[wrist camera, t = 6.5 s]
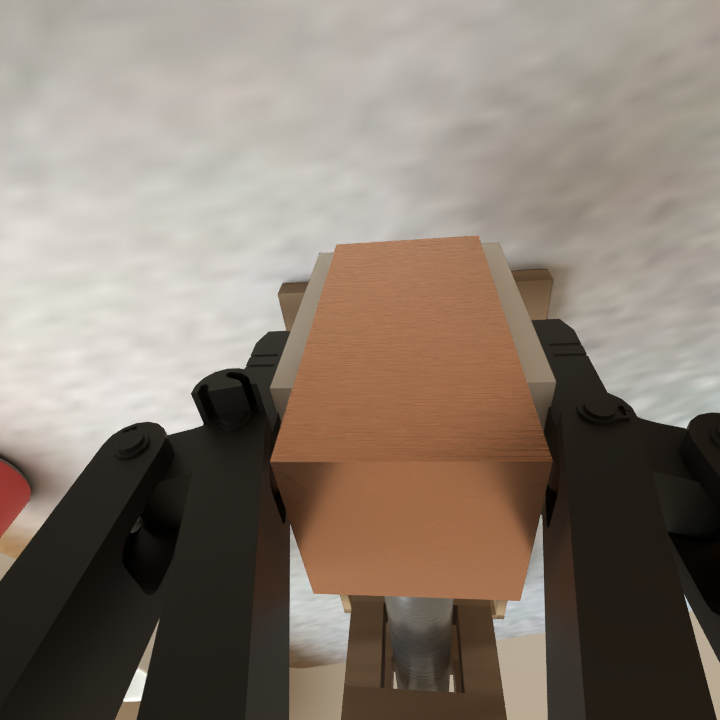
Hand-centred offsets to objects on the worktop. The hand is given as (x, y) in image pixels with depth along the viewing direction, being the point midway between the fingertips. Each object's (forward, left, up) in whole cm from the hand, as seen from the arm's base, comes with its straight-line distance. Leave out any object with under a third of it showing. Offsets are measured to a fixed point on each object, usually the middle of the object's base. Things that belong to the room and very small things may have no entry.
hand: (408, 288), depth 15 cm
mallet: (+9, 0, +1) cm, 9 cm away
